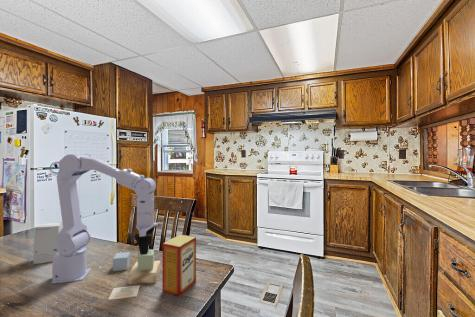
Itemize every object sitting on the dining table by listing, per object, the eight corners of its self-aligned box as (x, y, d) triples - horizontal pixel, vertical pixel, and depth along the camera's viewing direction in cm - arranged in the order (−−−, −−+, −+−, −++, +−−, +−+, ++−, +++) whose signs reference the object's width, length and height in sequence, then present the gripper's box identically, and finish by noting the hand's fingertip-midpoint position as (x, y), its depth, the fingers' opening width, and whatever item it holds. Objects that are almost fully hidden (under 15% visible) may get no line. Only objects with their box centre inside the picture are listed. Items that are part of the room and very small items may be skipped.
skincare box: (33, 264, 92) (32, 227, 92) (39, 258, 98) (38, 223, 97) (58, 261, 95) (58, 225, 95) (63, 255, 101) (63, 221, 101)
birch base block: (128, 285, 79) (128, 274, 79) (136, 272, 88) (136, 261, 88) (156, 283, 80) (156, 272, 80) (160, 270, 89) (160, 260, 89)
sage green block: (137, 270, 81) (137, 256, 81) (139, 264, 86) (139, 250, 86) (152, 269, 82) (152, 255, 82) (154, 262, 87) (154, 249, 87)
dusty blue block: (112, 271, 87) (112, 258, 87) (116, 265, 92) (116, 253, 92) (127, 270, 88) (127, 257, 88) (130, 264, 93) (130, 252, 93)
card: (108, 300, 70) (108, 299, 70) (113, 289, 76) (113, 287, 76) (136, 297, 72) (136, 295, 72) (140, 286, 78) (139, 284, 78)
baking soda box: (180, 277, 84) (180, 233, 83) (195, 281, 81) (196, 236, 81) (162, 291, 75) (162, 242, 75) (179, 296, 72) (179, 245, 72)
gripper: (155, 216, 77) (155, 257, 78) (159, 206, 91) (159, 241, 92) (132, 217, 76) (132, 259, 76) (140, 207, 90) (140, 242, 90)
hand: (145, 249), depth 84 cm, fingers open, 7 cm apart
